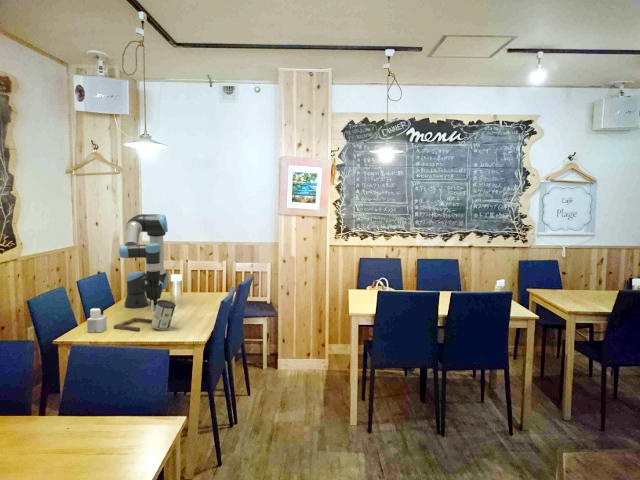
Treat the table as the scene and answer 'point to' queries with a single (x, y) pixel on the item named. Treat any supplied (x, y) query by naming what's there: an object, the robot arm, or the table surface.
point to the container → (96, 320)
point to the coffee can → (163, 314)
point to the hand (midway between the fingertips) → (153, 310)
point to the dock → (123, 325)
